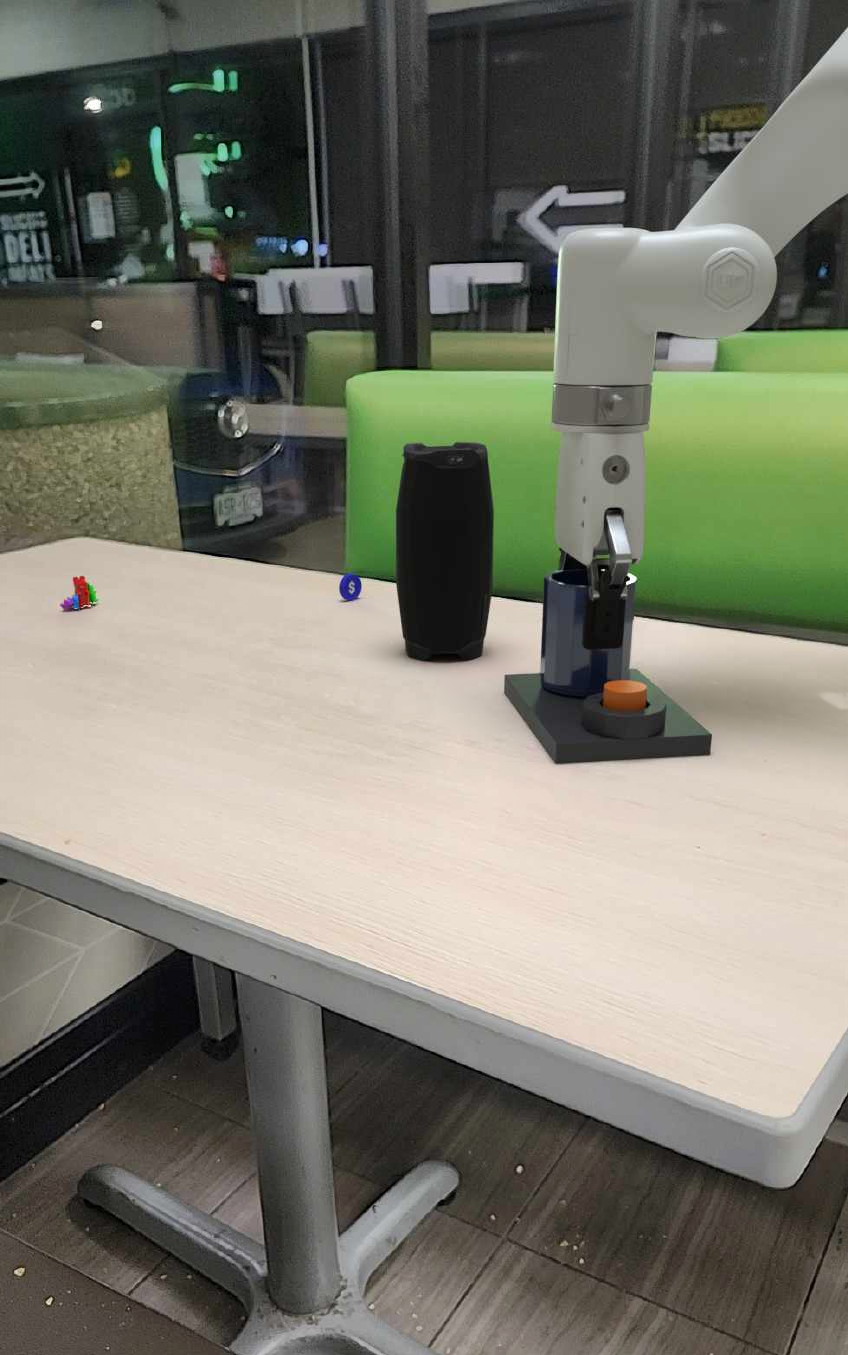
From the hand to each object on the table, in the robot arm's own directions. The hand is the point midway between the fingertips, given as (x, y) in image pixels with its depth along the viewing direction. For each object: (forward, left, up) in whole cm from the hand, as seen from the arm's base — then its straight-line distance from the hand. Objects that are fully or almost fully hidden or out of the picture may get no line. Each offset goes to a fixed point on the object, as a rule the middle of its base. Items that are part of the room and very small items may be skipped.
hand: (587, 633), depth 95 cm
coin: (+16, -43, -6) cm, 47 cm away
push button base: (0, +5, -6) cm, 8 cm away
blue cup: (0, 0, -4) cm, 4 cm away
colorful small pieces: (+47, -44, -6) cm, 65 cm away
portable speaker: (+9, -18, -6) cm, 22 cm away
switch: (0, +10, -3) cm, 11 cm away
